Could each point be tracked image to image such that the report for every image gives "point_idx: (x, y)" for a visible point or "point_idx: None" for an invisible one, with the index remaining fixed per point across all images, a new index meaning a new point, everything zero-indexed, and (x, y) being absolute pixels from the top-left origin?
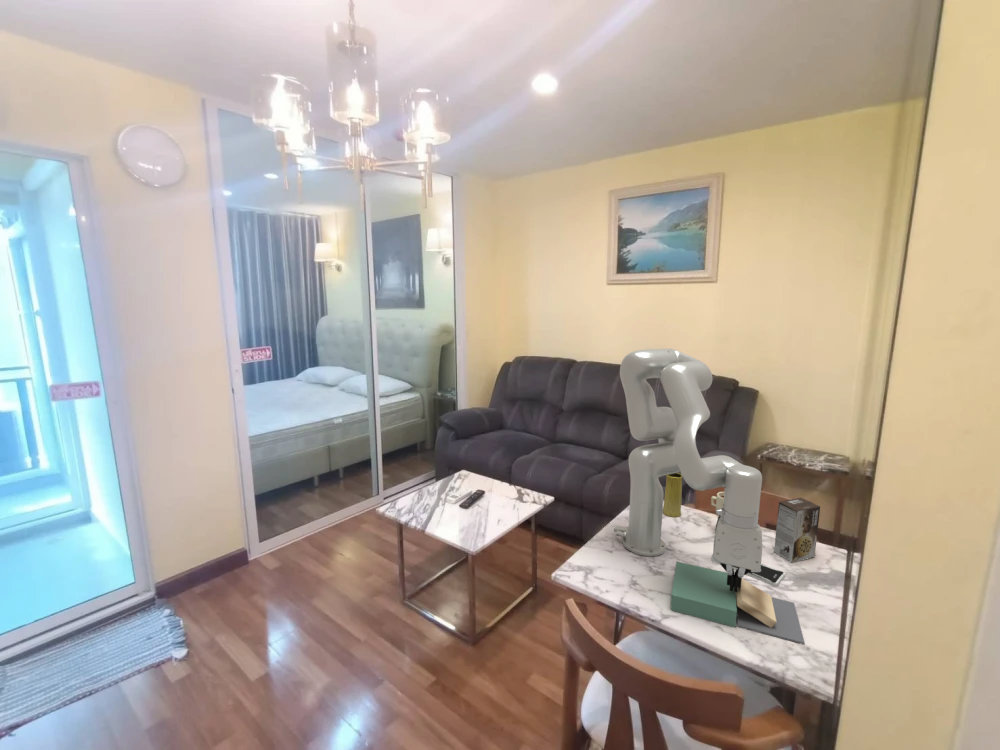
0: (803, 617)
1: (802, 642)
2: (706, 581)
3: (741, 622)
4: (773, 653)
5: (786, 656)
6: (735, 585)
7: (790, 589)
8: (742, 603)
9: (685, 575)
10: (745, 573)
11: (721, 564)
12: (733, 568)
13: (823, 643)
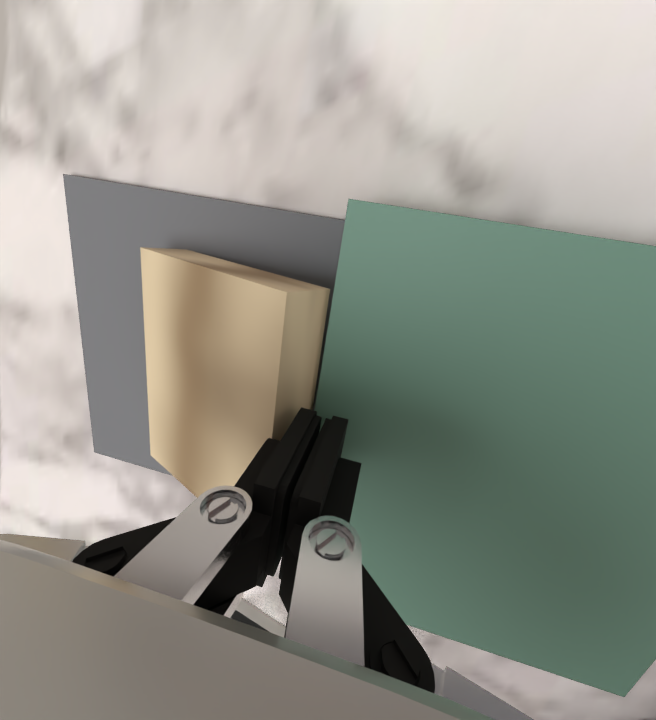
0: (73, 373)
1: (72, 175)
2: (477, 517)
3: (323, 254)
4: (204, 23)
5: (146, 26)
6: (302, 438)
7: (106, 527)
8: (289, 285)
9: (622, 569)
10: (166, 526)
11: (422, 667)
12: (281, 630)
13: (11, 215)
